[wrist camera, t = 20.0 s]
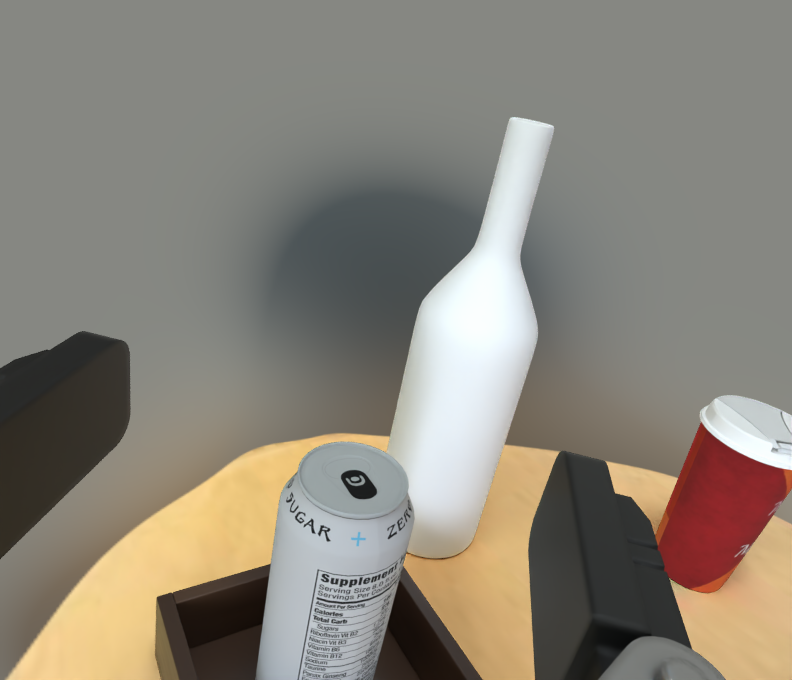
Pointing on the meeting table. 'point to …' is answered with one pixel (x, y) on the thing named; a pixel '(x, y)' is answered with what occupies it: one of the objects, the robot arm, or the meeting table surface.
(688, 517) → the paper cup
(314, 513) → the energy drink can
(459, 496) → the bottle
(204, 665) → the walnut box
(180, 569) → the meeting table surface
